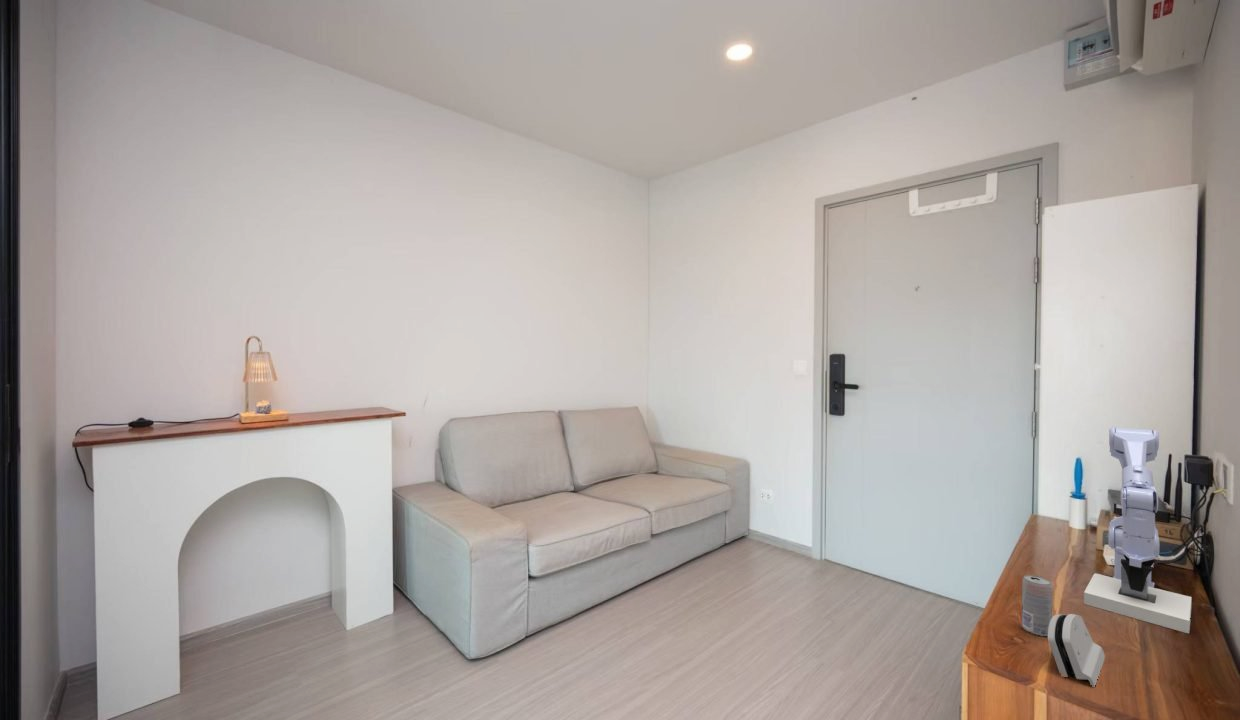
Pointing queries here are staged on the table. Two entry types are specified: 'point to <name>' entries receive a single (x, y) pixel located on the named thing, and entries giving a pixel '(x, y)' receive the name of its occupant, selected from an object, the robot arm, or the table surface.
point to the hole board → (1140, 603)
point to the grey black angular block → (1074, 648)
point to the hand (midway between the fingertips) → (1137, 587)
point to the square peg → (1129, 592)
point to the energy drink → (1036, 604)
